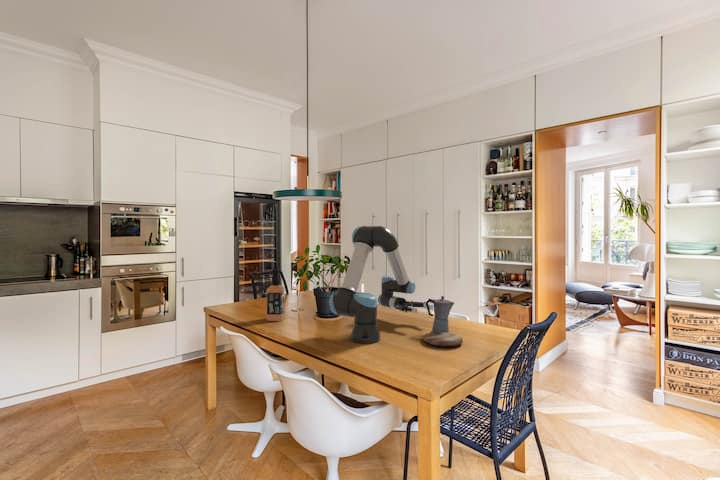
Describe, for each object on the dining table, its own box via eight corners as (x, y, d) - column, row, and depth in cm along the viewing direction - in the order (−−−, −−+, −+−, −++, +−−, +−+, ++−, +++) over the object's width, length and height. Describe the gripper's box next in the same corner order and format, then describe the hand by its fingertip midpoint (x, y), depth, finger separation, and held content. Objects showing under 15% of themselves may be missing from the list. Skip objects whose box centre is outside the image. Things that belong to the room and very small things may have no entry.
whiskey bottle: (281, 321, 230) (281, 269, 229) (265, 321, 230) (265, 269, 229) (285, 317, 240) (285, 267, 239) (270, 317, 240) (269, 267, 239)
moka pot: (454, 335, 200) (454, 298, 199) (425, 333, 203) (425, 297, 202) (453, 330, 209) (454, 295, 208) (425, 329, 212) (425, 294, 212)
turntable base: (422, 342, 188) (422, 340, 188) (440, 337, 197) (440, 335, 197) (445, 349, 177) (445, 346, 177) (463, 343, 186) (463, 341, 186)
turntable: (415, 339, 188) (415, 336, 188) (439, 332, 200) (439, 330, 200) (446, 348, 174) (446, 345, 174) (470, 340, 186) (470, 338, 186)
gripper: (412, 306, 238) (438, 312, 222) (383, 312, 222) (409, 318, 206) (412, 294, 238) (438, 299, 222) (383, 299, 222) (409, 305, 206)
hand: (424, 309), depth 214 cm, fingers open, 13 cm apart
